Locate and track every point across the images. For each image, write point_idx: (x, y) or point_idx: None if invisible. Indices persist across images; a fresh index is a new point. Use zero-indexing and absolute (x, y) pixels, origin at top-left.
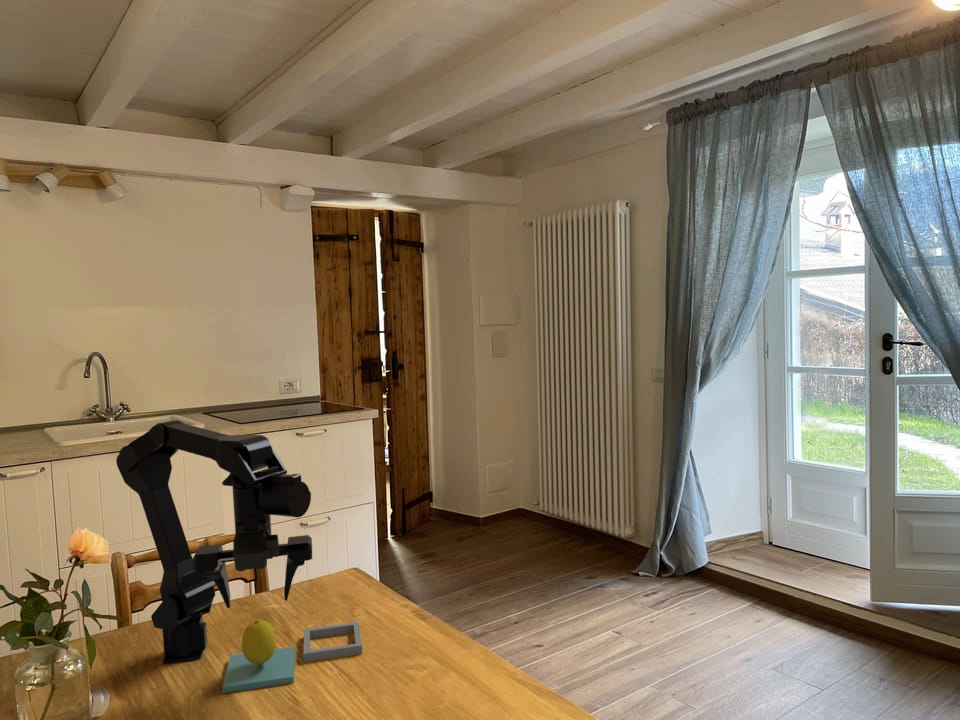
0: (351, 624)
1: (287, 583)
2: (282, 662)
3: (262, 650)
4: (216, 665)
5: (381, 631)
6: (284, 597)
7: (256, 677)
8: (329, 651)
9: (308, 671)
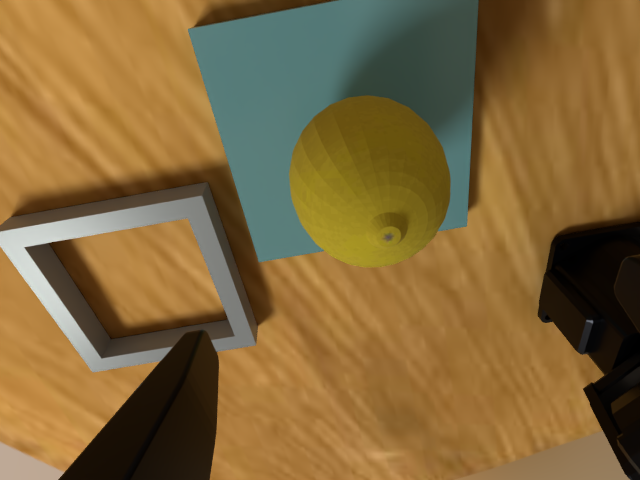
0: (109, 360)
1: (106, 469)
2: (271, 156)
3: (335, 108)
4: (502, 194)
5: (22, 340)
6: (198, 346)
7: (347, 44)
8: (109, 209)
9: (165, 114)
